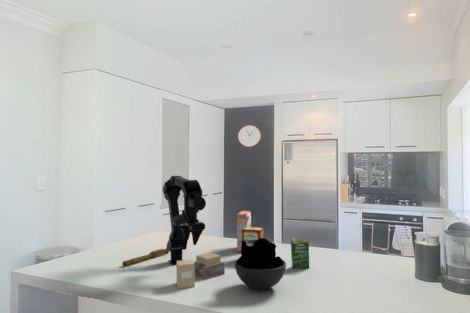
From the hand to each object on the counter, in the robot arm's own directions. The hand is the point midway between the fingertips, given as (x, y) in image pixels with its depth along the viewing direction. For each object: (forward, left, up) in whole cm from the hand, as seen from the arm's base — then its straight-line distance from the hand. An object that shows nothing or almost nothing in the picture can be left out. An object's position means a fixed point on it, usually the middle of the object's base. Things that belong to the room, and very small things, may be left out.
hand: (190, 242), depth 158 cm
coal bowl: (+32, +16, -13) cm, 38 cm away
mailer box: (+14, -8, -13) cm, 21 cm away
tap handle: (-31, -11, -14) cm, 35 cm away
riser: (+6, +6, -13) cm, 16 cm away
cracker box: (-23, +42, -13) cm, 50 cm away
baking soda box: (-3, +35, -13) cm, 38 cm away
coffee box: (+19, +47, -13) cm, 52 cm away
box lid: (+6, +6, -8) cm, 12 cm away
